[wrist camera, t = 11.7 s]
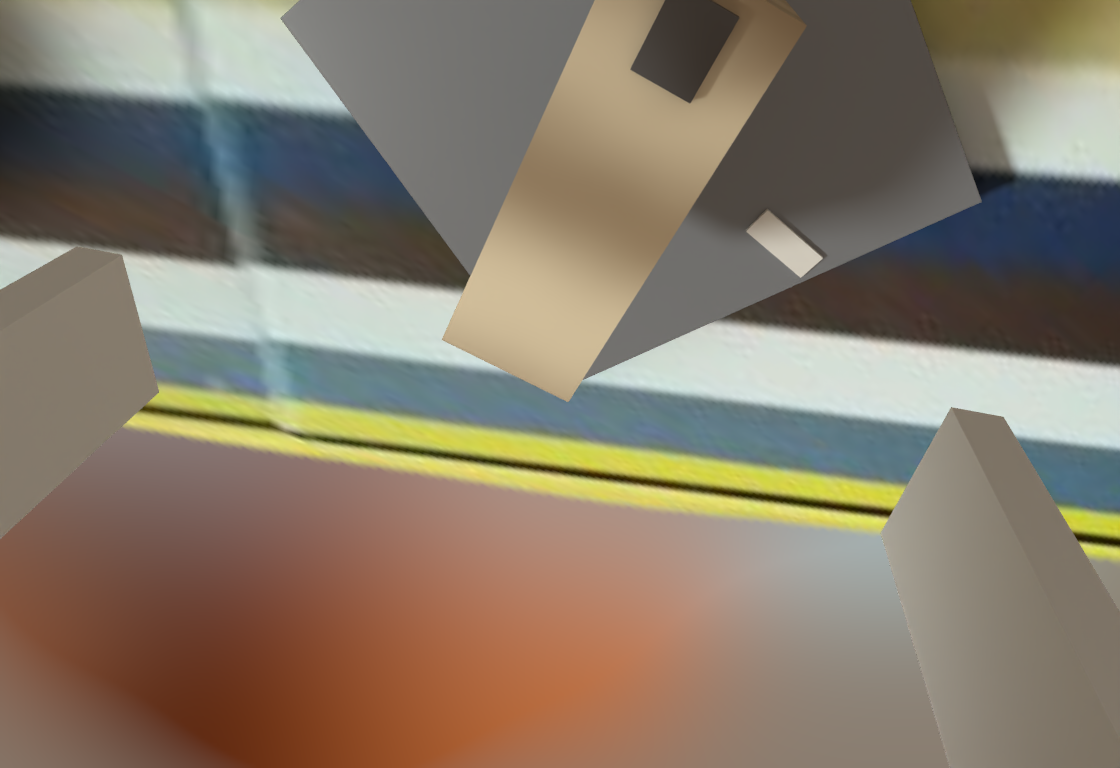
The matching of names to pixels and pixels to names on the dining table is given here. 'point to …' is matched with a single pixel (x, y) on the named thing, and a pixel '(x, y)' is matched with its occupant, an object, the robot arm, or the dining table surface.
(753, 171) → the lock base
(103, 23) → the dining table surface
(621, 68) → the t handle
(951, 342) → the dining table surface
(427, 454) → the dining table surface
